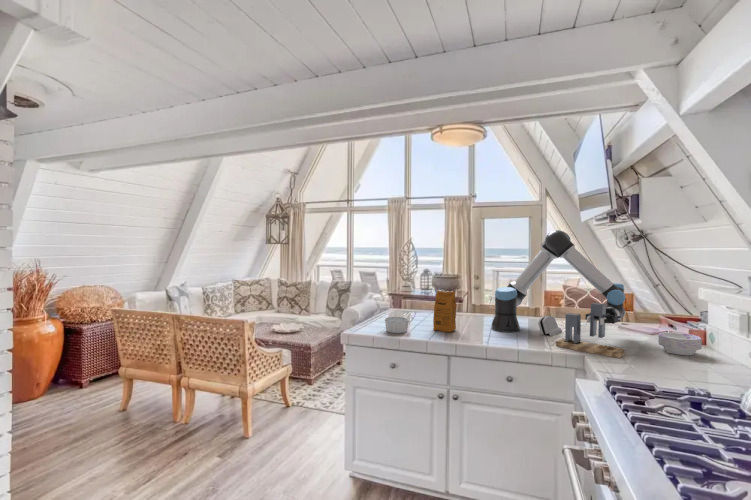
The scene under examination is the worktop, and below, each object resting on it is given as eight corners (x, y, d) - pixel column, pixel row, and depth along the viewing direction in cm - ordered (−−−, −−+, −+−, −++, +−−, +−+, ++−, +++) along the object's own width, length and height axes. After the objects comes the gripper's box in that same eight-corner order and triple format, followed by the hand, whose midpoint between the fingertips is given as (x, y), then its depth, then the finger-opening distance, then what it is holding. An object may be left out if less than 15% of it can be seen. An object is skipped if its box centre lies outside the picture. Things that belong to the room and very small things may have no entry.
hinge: (550, 336, 200) (544, 317, 202) (542, 337, 203) (536, 319, 205) (562, 331, 211) (556, 313, 214) (553, 332, 215) (547, 315, 217)
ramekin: (408, 329, 214) (409, 316, 214) (408, 334, 201) (408, 321, 201) (385, 328, 216) (385, 316, 215) (383, 333, 202) (383, 320, 202)
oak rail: (556, 346, 179) (556, 341, 179) (562, 343, 185) (562, 338, 185) (619, 358, 161) (619, 352, 161) (624, 354, 166) (624, 348, 166)
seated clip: (565, 346, 178) (565, 314, 178) (569, 345, 182) (569, 312, 181) (576, 349, 174) (577, 315, 174) (580, 347, 178) (580, 314, 178)
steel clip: (589, 336, 180) (590, 303, 180) (593, 334, 184) (594, 302, 184) (601, 338, 177) (602, 305, 177) (604, 336, 180) (605, 304, 180)
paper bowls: (649, 348, 177) (650, 331, 177) (680, 348, 178) (680, 331, 178) (677, 358, 162) (677, 339, 162) (711, 357, 163) (711, 339, 163)
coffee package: (438, 327, 220) (438, 289, 219) (458, 330, 212) (458, 291, 212) (430, 330, 212) (430, 290, 211) (450, 333, 204) (451, 292, 204)
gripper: (629, 325, 186) (616, 332, 170) (589, 319, 199) (573, 325, 183) (630, 310, 186) (616, 315, 170) (589, 305, 199) (573, 310, 183)
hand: (594, 320), depth 177 cm, fingers closed on steel clip, 5 cm apart
